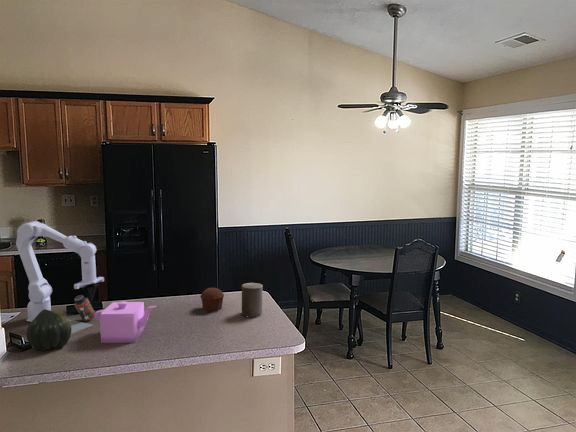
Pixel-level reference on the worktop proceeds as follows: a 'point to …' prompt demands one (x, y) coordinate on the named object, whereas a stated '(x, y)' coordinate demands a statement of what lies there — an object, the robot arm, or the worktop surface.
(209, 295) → the muffin
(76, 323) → the mat
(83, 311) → the supplement bottle
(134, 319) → the teapot
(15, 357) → the worktop surface
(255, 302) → the grey lidded canister
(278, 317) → the worktop surface
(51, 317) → the squash
